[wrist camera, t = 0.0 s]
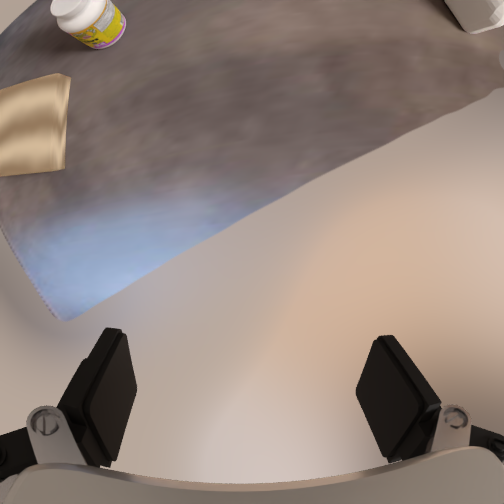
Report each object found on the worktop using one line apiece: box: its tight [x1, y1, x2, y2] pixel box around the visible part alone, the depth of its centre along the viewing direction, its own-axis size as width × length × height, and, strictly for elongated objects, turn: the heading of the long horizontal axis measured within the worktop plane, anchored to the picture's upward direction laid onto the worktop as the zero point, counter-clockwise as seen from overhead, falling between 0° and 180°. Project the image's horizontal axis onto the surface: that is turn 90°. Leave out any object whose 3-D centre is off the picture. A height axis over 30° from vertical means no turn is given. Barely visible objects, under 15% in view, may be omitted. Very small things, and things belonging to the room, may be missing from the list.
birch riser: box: [0, 73, 71, 177], centre depth 31 cm, size 14×14×4 cm
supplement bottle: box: [51, 0, 126, 49], centre depth 23 cm, size 7×7×13 cm
